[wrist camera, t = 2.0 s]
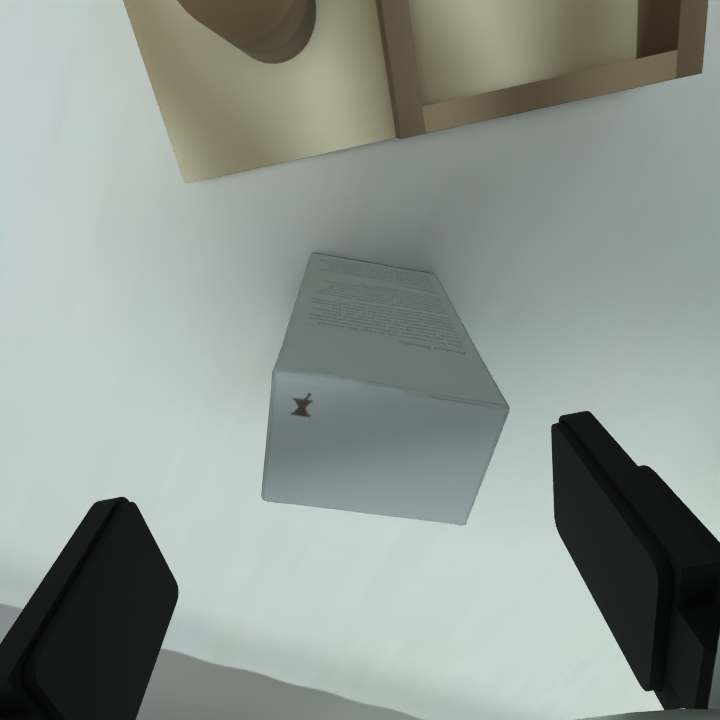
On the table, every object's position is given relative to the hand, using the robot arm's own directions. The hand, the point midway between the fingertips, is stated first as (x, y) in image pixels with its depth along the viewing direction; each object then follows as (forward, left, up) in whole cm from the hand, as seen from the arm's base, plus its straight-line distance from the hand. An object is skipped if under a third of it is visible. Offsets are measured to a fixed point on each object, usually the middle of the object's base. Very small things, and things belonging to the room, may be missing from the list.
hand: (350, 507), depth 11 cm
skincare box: (-1, 0, -14) cm, 14 cm away
